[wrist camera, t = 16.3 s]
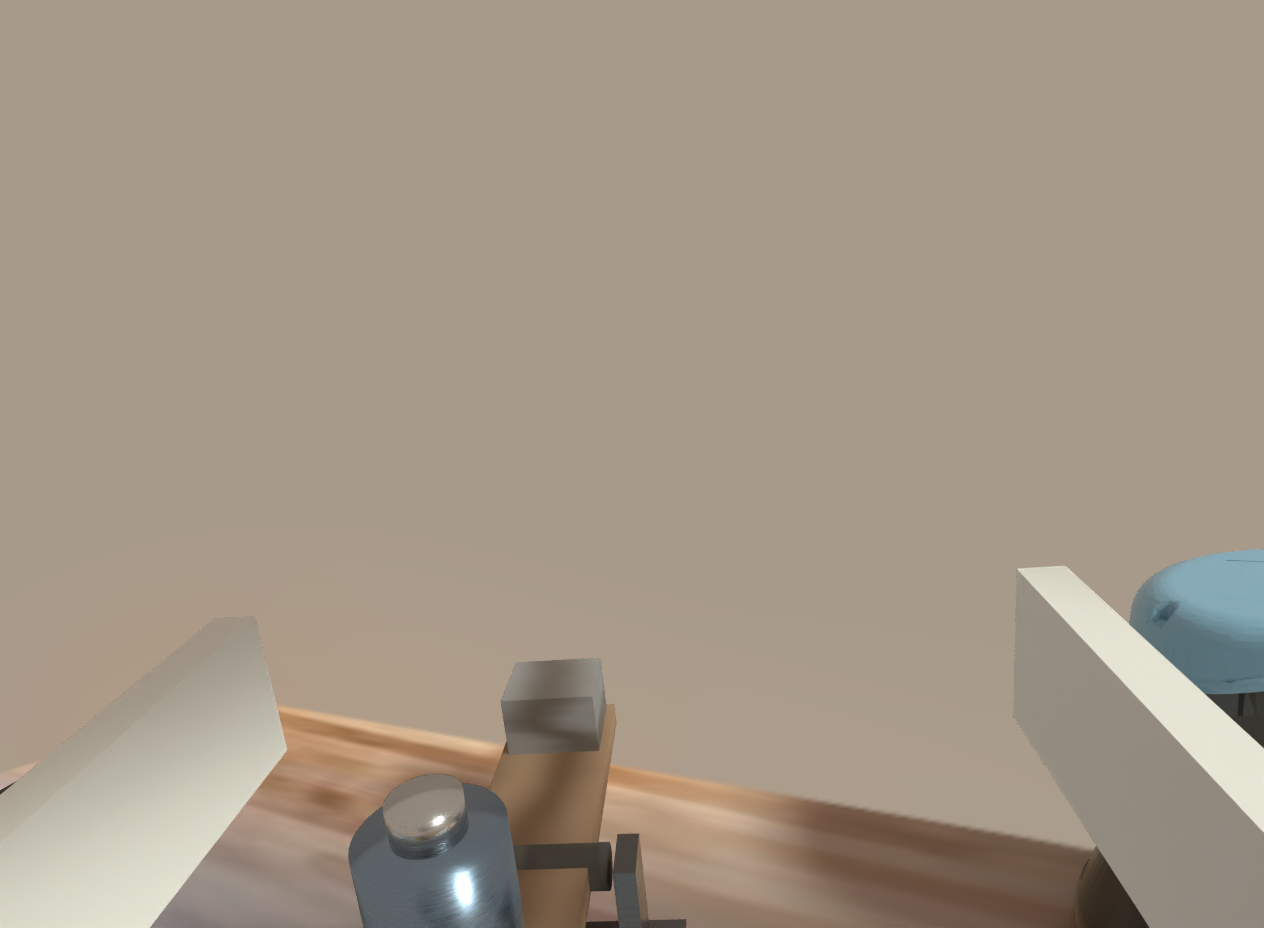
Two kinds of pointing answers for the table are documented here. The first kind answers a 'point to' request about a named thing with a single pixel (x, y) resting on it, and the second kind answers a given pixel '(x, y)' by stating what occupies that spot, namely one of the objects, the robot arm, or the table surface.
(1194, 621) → the robot arm
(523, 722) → the beam
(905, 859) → the table surface
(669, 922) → the stand
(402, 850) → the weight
